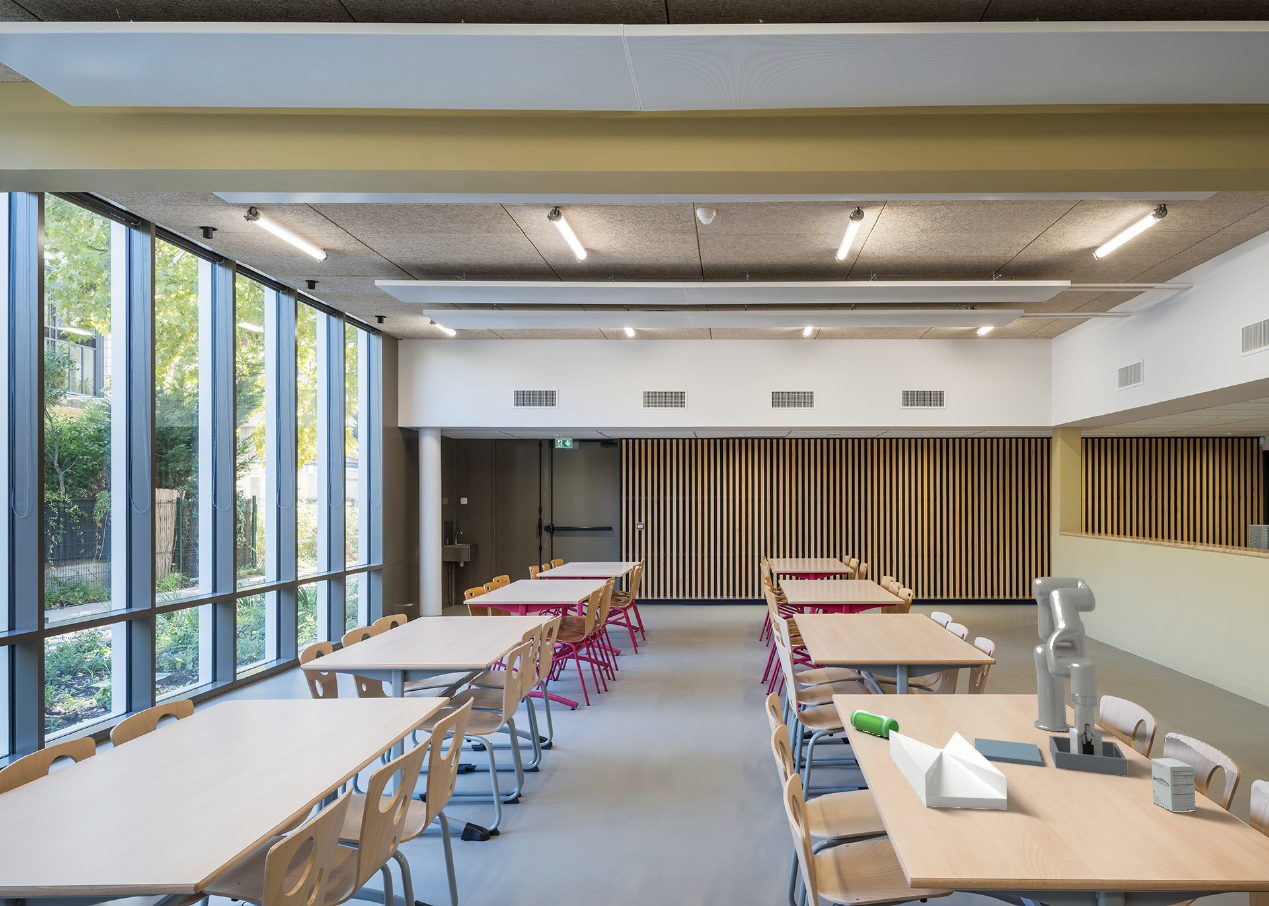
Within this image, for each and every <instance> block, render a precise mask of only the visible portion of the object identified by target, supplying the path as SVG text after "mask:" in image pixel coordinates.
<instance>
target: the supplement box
mask: <svg viewBox="0 0 1269 906" xmlns="http://www.w3.org/2000/svg"><path fill="white" fill-rule="evenodd" d="M1150 759H1151V778H1152V779H1151V780H1152V781H1151V783H1152V803H1153V802H1154V803H1155V804H1156V805H1157V804H1158V805H1157V806H1159V807H1161V806H1162V807H1161V808H1163V807H1164V808H1163V809H1165V808H1166V809H1165V810H1167V809H1169V810H1170V811H1189V810H1195V811H1196V793H1195V792H1196V788H1195V767H1194V766H1193V765H1190V764H1188V763H1186V762H1183V761H1181V760H1178V759H1177V758H1174V757H1167V758H1166V757H1165V758H1163V757H1162V758H1150ZM1154 803H1153V804H1154ZM1155 804H1154V805H1155ZM1169 810H1168V811H1169ZM1170 811H1169V812H1170Z"/></svg>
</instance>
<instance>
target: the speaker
mask: <svg viewBox="0 0 1269 906" xmlns="http://www.w3.org/2000/svg"><path fill="white" fill-rule="evenodd" d="M850 724H851V726H852V727H853V728H855V729H857V730H859V731H861V730H864V731H868V732H870V733H874V734H876V735H880V736H883V737H882V738H885V737H888V738H887V739H889V729H890V730H892V731H894V732H897V733H899V731H900V726H899V724H898V721H897V720H895V719H894V718H892V717H889V716H886V715H882V714H878V713H875V712H872V711H871V712H870V711H868V710H864V709H855V710H853V711H852V713H851V715H850ZM876 735H875V736H876Z"/></svg>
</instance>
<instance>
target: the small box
mask: <svg viewBox="0 0 1269 906" xmlns="http://www.w3.org/2000/svg"><path fill="white" fill-rule="evenodd" d="M1084 734H1085V733H1084ZM1092 734H1093V733H1092ZM1069 738H1070V750H1071V753H1076V754H1083V747H1082V743H1083V736H1082V735H1080V736H1078V733H1077V731H1076V729H1075V728H1074V727H1071V728H1070V731H1069ZM1085 738H1086V737H1085ZM1102 741H1103V735H1102V732H1100V731H1099V730H1097V729H1095V735H1094V737H1093V744H1094V756H1103V752H1102Z"/></svg>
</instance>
